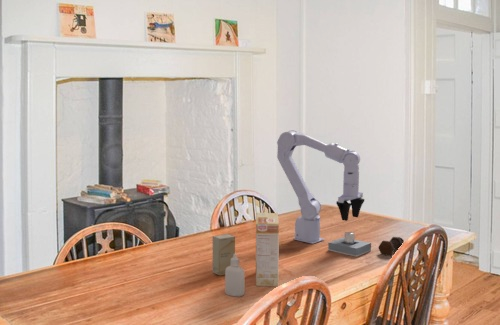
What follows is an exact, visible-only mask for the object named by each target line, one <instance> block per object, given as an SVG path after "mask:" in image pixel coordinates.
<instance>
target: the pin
mask: <svg viewBox="0 0 500 325" xmlns="http://www.w3.org/2000/svg"><path fill="white" fill-rule="evenodd" d="M344 238H345V244H348V245H354V244H355V240H356V233H355V232H352V231H347V232H345V233H344Z"/></svg>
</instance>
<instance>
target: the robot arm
mask: <svg viewBox="0 0 500 325" xmlns="http://www.w3.org/2000/svg"><path fill="white" fill-rule="evenodd" d="M276 144H277V152H276V154H277V156H276V157H277V161H278V162H279V165H280V166H281V168H282V170H283V172H284V174H285V175H286V178H287V180H288V181H289V184H290V185H291V187H292V189H293V191H294V193H295V195H296V197H297V200H298V201H297V202H298V206H299V207H300V214H301V215H299V216H298V217H297V218H296V220H295V223H294V238H293V240H295V241H299V242H303V243H308V244H313V245H314V244H315V243H319V242H323V241H324V240H325V238H323V237H321V216H320V214H319V213H320V212H321V211H322V205H321V203H320V202H319V200H317V199H316V198H315V196H314V194H312V193H311V192H310V190H309V188H308V186H307V184H306V182H305V180H304V178H303V176H302V174H301V172H300V171H299V169H298V167H297V165H296V163H295V161H294V159H293V157H292V156H293V153H294V150H295V149H296V147H298V146H306V147H309V148H312V149H314V150H317V151H320V152H321V153H324V156H325V157H326V158H328V159H330V160H333V161H335V162H337V163H339V164H343V168H344V171H343V185H342V186H343V188H342V194H341V195H340V196H339V197H337V201H336V205H337V208H338V210H339V213H340V217H341V220H342V221H346V222H347V221H349V213H350V208H351V214H352V215H351V216H352V217H353V218H359V214H360V212H361V209H362V206H363V204H364V202H365V198H364V195H363V194H364V192H362V191H360V190H359V187H360V186H359V183H360V181H359V180H360V178H359V177H360V167H359V166H360V165H359V164H360V162H361V156H360V154H359V153H358V152H356V151H355V150H350V148H344V147H342V146H340V145H339V143H337V142H334V143H332V142H331V143H329V144H326V143H325V142H322V141H321V140H318V139H316V138H314V137H312V136H310V135H307V134H305V133H303V132H297V131H296V130H288V131H285V132H282V133H281V134H280V135H279V138H278V139H277V142H276ZM348 201H349V202H348Z"/></svg>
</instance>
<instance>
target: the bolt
mask: <svg viewBox="0 0 500 325" xmlns="http://www.w3.org/2000/svg"><path fill="white" fill-rule="evenodd" d="M404 241H405V240H404V239H403V238H401V237H400V236H399V237H398V236H393V237H392V238H391V239H390V240H382V241H381V243H379V245H378V246H377V247H378V251H379V253H380V254H381V256H388V257H389V256H392V255H393V254H394V251H395V250H399V249H398V248H399V247H400V246H401V245H402V243H403V244H404V243H405V242H404ZM402 246H403V245H402ZM402 246H401V247H402Z"/></svg>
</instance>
